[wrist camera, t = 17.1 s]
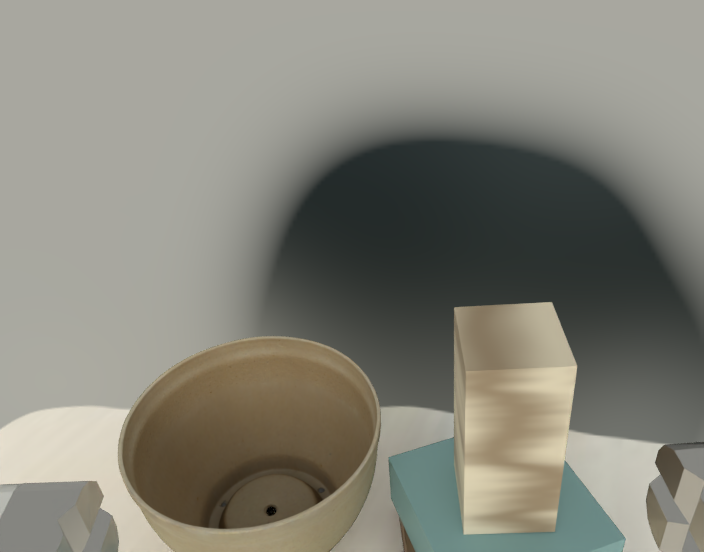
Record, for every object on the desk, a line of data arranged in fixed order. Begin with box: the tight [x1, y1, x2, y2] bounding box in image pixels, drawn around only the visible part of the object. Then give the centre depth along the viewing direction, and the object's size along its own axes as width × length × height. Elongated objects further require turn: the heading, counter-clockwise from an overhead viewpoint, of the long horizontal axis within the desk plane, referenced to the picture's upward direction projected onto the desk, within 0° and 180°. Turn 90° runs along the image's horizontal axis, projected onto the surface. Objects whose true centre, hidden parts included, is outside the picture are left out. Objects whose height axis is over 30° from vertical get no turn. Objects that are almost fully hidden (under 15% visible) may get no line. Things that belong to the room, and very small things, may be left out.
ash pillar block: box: [454, 302, 577, 535], centre depth 35 cm, size 5×5×12 cm
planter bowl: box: [118, 336, 381, 552], centre depth 44 cm, size 16×16×11 cm
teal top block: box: [389, 438, 626, 552], centre depth 40 cm, size 10×10×4 cm
